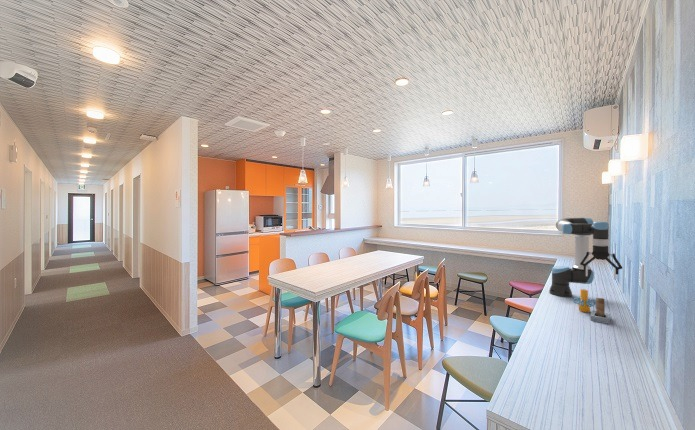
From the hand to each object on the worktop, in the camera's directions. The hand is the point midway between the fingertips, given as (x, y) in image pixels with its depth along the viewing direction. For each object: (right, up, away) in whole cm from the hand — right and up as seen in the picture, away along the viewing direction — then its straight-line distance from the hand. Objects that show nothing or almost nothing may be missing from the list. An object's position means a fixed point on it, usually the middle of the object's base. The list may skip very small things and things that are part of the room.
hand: (600, 277), depth 179 cm
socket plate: (0, -28, 0) cm, 28 cm away
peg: (-1, -28, -1) cm, 28 cm away
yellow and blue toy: (+2, -27, +15) cm, 31 cm away
